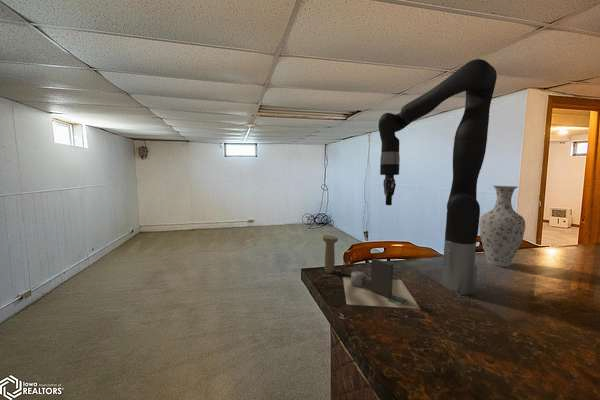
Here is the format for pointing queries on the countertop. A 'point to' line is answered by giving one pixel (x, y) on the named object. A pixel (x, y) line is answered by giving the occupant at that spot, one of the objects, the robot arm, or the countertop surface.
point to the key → (377, 279)
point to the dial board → (378, 296)
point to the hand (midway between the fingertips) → (388, 205)
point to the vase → (501, 229)
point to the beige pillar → (329, 253)
